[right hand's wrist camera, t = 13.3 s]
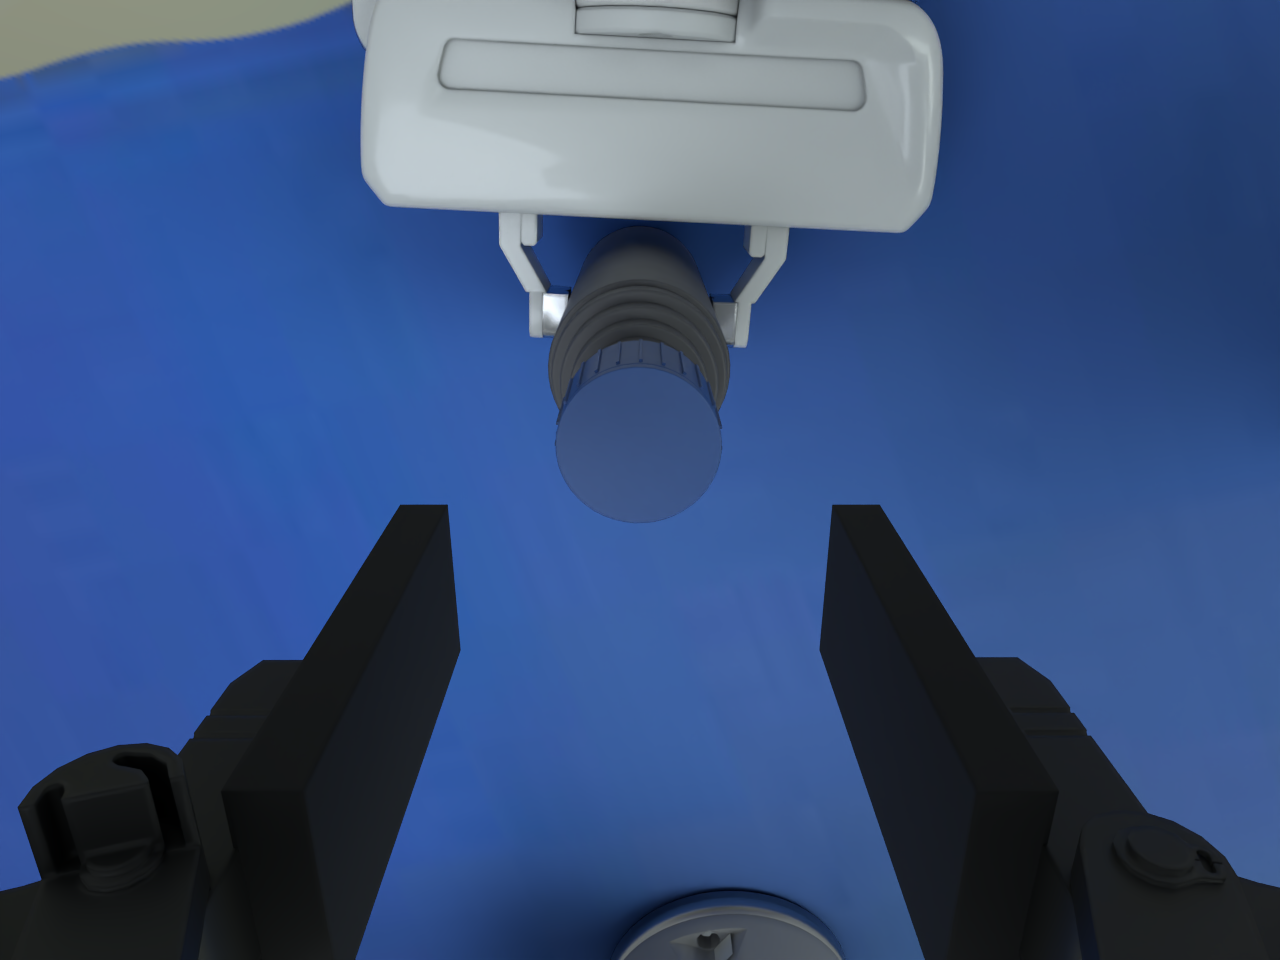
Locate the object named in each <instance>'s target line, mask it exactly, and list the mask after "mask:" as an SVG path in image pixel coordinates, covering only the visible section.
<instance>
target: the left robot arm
mask: <svg viewBox="0 0 1280 960" xmlns="http://www.w3.org/2000/svg"><path fill="white" fill-rule="evenodd" d="M352 11H353V23H354V27H355V31H356V34H357V37H358V39H359V41H360V43H361V45H362V47H363V48H364V50H365V51H366V54H365V64H364V74H363V86H362V101H361V133H360V137H361V169H362V175H363V178H364V180H365V182H366V183H367V184H368V185H369V187H370V188H371V189H372V191H373V192H374V193H375V194H376V196H377V197H378V198H379V199H380V200H381V201H382V203H383V204H385V205H387V206H390V207H404V208H424V209H443V210H462V211H482V212H499V245H500V247H501V249H502V251H503V252H504V254H505V256H506V258H507V259H508V261H509V263H510V265H511V266H512V268H513V270H514V272H515V273H516V275H517V277H518V279H519V280H520V282H521V284H522V286H523V287H524V289H525V291H526V292H529V332H530V337H537V338H554V336H555V333H556V330H557V328H558V325H559V323H560V320H561V318H562V316H563V313H564V311H565V308H566V306H567V303H568V301H569V298H570V296H571V287H567V286H553V285H551V284H550V282H549V280H548V278H547V276H546V274H545V272H544V270H543V268H542V266H541V264H540V263H539V261H538V259H537V257H536V255H535V253H534V251H533V249H532V247H531V246H534V245H535V244H536V243H537V242H538V241H539V240H540V239H541V238H542V237H543V215H559V216H578V217H597V218H616V219H636V220H655V221H674V222H694V223H713V224H732V225H745V228H744V241H743V247H744V248H745V250H746V251H747V252H748V253H749V254H750V255H751V257H754V258H753V259H752V261H751V262H750V264H749V265H748V267H747V268H746V270H745V271H744V273H743V274H742V276H741V277H740V279H739V280H738V282H737V283H736V285H735V286H734V288H733V289H732V291H731V292H730V294H710V297H709V299H710V302H711V304H712V307H713V309H714V312H715V314H716V317H717V320H718V322H719V325H720V327H721V330H722V332H723V335H724V337H725V340H726V343H727V347H740V348H746V346H747V341H748V334H749V323H750V313H751V303H755V302H756V301H757V300H758V298H759V297H760V295H761V294H762V293H763V291H764V290H765V288H766V287H767V285H768V284H769V283H770V281H771V280H772V278H773V277H774V276H775V274H776V273H777V271H778V270H779V269H780V267H781V266H782V264H783V263H784V262H785V260H786V253H787V245H788V236H789V227H790V228H809V229H829V230H848V231H867V232H887V233H902V232H905V231H907V230H908V229H909V228H910V227H911V226H912V225H913V224H914V223H915V222H916V221H917V220H918V219H919V218H920V217H921V215H922V214H923V213H924V212H925V211H926V210H927V208H928V207H929V205H930V203H931V199H932V195H933V190H934V184H935V178H936V171H937V164H938V155H939V146H940V134H941V120H942V102H943V57H942V49H941V44H940V39H939V36H938V33H937V31H936V28H935V26H934V24H933V22H932V21H931V19H930V17H929V16H928V15H927V14H926V13H925V11H924V10H922V9H921V8H920V7H919V6H918V5H916V4H915V3H913V2H911V1H909V0H352Z"/></svg>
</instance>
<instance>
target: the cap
mask: <svg viewBox="0 0 1280 960" xmlns="http://www.w3.org/2000/svg"><path fill="white" fill-rule="evenodd" d="M556 425H558V429H557V433H556V441H555V446H556V456H557V461H558V465H559V468H560V471H561V474H562V476H563V478H564V480H565V482H566V483H567V485H568V486H569V488H570V489H571V491H572V492H573V493H574V494H575V495H576V497H577V498H578V499H579V500H581V501H582V502H583V503H584V504H585V505H586V506H588V507H589V508H591V509H592V510H594V511H595V512H597V513H599V514H601V515H603V516H606V517H608V518H611V519H614V520H618V521H622V522H630V523H648V522H655V521H659V520H663V519H667V518H669V517H672V516H674V515H676V514H678V513H680V512H682V511H684V510H685V509H687V508H688V507H690V506H691V505H692V504H694V503H695V502H696V501H697V500H698V499H699V498H700V497H701V496H702V495H703V494H704V492H705V491H706V490H707V489H708V487H709V486H710V484H711V482H712V481H713V479H714V477H715V474H716V472H717V469H718V466H719V463H720V458H721V450H722V440H721V431H720V429H722V425H721V421H720V417H719V414H718V410H717V406H716V402H715V400H714V398H713V394H712V390H711V386H710V383H709V381H708V382H706V380H705V378H704V377H703V375H702V373H701V372H700V370H699V366H698V365H697V364H696V365H695V364H694V363H693V362H692V361H691V360H690V359H688V358H687V357H686V356H684V355H683V352H682V351H680V352H679V351H677V350H675V349H673V348H671V347H669V346H666V345H664V343H662V342H660V343H656V342H651V341H643V339H639V341H627V342H621V341H619V342H618V344H614V345H611V346H609V347H607V348H604V349H603V350H601V349H599V350H598V352H597V353H596V354H594V355H593V356H592V357H591V358H589V359H588V360H587V361H586V362H584V361H583V362H582V364H581V367H580V369H579V370H578V371H577V373H576V374H575V376H574V378H571V379H570V381H569V384H568V388H567V391H566V395H565V397H563V400H562V404H561V407H560V411H559V415H558V418H557V422H556Z"/></svg>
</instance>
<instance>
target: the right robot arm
mask: <svg viewBox="0 0 1280 960" xmlns="http://www.w3.org/2000/svg"><path fill="white" fill-rule="evenodd" d="M459 653H460V639H459V628H458V617H457V605H456V594H455V583H454V572H453V560H452V549H451V538H450V527H449V515H448V505H400V506H399V508H398V509H397V511H396V513H395V514H394V516H393V517H392V519H391V521H390V522H389V524H388V525H387V527H386V528H385V530H384V532H383V533H382V535H381V536H380V538H379V540H378V541H377V543H376V544H375V546H374V548H373V549H372V551H371V552H370V554H369V556H368V557H367V559H366V560H365V562H364V564H363V565H362V567H361V568H360V570H359V572H358V573H357V575H356V576H355V578H354V579H353V581H352V583H351V584H350V586H349V587H348V589H347V591H346V592H345V594H344V595H343V597H342V599H341V600H340V602H339V603H338V605H337V607H336V608H335V610H334V611H333V613H332V615H331V616H330V618H329V619H328V621H327V623H326V624H325V626H324V627H323V629H322V630H321V632H320V634H319V635H318V637H317V638H316V640H315V642H314V643H313V645H312V646H311V648H310V650H309V651H308V653H307V654H306V656H305V658H304V659H303V660H263V661H261V662H260V663H258V664H257V665H256V666H254V667H253V668H251V669H250V670H248V671H247V672H246V673H244V674H243V675H241V676H240V677H239V678H237V679H236V680H234V681H233V682H232V683H230V684H229V686H228V687H227V689H226V690H225V691H224V693H223V694H222V695H221V697H220V698H219V699H218V701H217V702H216V704H215V705H214V706H213V708H212V709H211V713H210V716H206V717H205V719H204V720H203V721H202V723H201V724H200V725H199V727H198V728H197V730H196V731H195V732H194V738H193V739H189V741H188V742H187V743H186V745H185V746H184V747H183V749H182V750H181V751H180V753H179V754H178V755H177V754H175V753H174V752H173V751H172V750H171V749H169V748H167V747H162V746H158V745H153V744H148V743H141V744H128V745H117V746H114V747H110V748H106V749H103V750H99V751H96V752H92V753H89V754H86V755H84V756H82V757H80V758H78V759H76V760H74V761H72V762H69V763H67V764H65V765H63V766H61V767H59V768H57V769H56V770H55V771H53V772H52V773H51V774H49V775H48V776H47V777H45V778H44V779H43V780H41V781H40V782H39V783H37V784H36V785H35V786H33V787H32V789H31V790H30V791H29V793H28V794H27V795H26V797H25V798H24V799H23V801H22V802H21V804H20V805H19V806H18V810H19V813H20V816H21V819H22V822H23V825H24V828H25V831H26V834H27V837H28V840H29V843H30V846H31V849H32V852H33V855H34V858H35V861H36V864H37V867H38V870H39V873H40V876H41V881H38V882H35V883H31V884H28V885H25V886H21V887H17V888H13V889H8V890H4V891H0V960H355V958H356V955H357V952H358V949H359V946H360V944H361V941H362V938H363V935H364V932H365V929H366V926H367V923H368V920H369V917H370V914H371V911H372V908H373V905H374V902H375V899H376V897H377V894H378V891H379V888H380V885H381V882H382V879H383V876H384V873H385V870H386V867H387V864H388V861H389V858H390V855H391V853H392V850H393V847H394V844H395V841H396V838H397V835H398V832H399V829H400V826H401V823H402V820H403V817H404V814H405V811H406V808H407V806H408V803H409V800H410V797H411V794H412V791H413V788H414V785H415V782H416V779H417V776H418V773H419V770H420V767H421V764H422V761H423V759H424V756H425V753H426V750H427V747H428V744H429V741H430V738H431V735H432V732H433V729H434V726H435V723H436V720H437V717H438V715H439V712H440V709H441V706H442V703H443V700H444V697H445V694H446V691H447V688H448V685H449V682H450V679H451V676H452V673H453V670H454V668H455V665H456V662H457V659H458V656H459ZM820 653H821V656H822V659H823V662H824V665H825V668H826V670H827V673H828V676H829V679H830V682H831V685H832V688H833V691H834V694H835V697H836V700H837V703H838V706H839V709H840V712H841V715H842V717H843V720H844V723H845V726H846V729H847V732H848V735H849V738H850V741H851V744H852V747H853V750H854V753H855V756H856V759H857V762H858V764H859V767H860V770H861V773H862V776H863V779H864V782H865V785H866V788H867V791H868V794H869V797H870V800H871V803H872V806H873V808H874V811H875V814H876V817H877V820H878V823H879V826H880V829H881V832H882V835H883V838H884V841H885V844H886V847H887V850H888V853H889V855H890V858H891V861H892V864H893V867H894V870H895V873H896V876H897V879H898V882H899V885H900V888H901V891H902V894H903V897H904V899H905V902H906V905H907V908H908V911H909V914H910V917H911V920H912V923H913V926H914V929H915V932H916V935H917V938H918V941H919V944H920V946H921V949H922V952H923V955H924V958H925V960H1280V888H1279V887H1275V886H1270V885H1266V884H1262V883H1258V882H1254V881H1251V880H1248V879H1245V878H1241V877H1238V876H1237V875H1236V873H1235V872H1234V870H1233V868H1232V867H1231V865H1230V864H1229V862H1228V861H1227V859H1226V858H1225V856H1224V855H1222V854H1221V853H1220V852H1219V851H1218V850H1217V849H1216V848H1214V847H1213V846H1212V845H1211V844H1210V843H1209V842H1207V841H1206V840H1205V839H1204V838H1203V837H1201V836H1200V835H1198V834H1196V833H1194V832H1192V831H1190V830H1189V829H1187V828H1185V827H1183V826H1181V825H1179V824H1178V823H1176V822H1174V821H1171V820H1168V819H1165V818H1161V817H1158V816H1155V815H1152V814H1149V813H1147V811H1146V810H1145V809H1144V807H1143V806H1142V805H1141V803H1140V802H1139V800H1138V799H1137V798H1136V796H1135V795H1134V794H1133V792H1132V791H1131V790H1130V788H1129V787H1128V786H1127V784H1126V783H1125V781H1124V780H1123V779H1122V777H1121V776H1120V775H1119V773H1118V772H1117V771H1116V769H1115V768H1114V767H1113V765H1112V764H1111V762H1110V761H1109V760H1108V758H1107V757H1106V756H1105V754H1104V753H1103V752H1102V750H1101V749H1100V747H1099V746H1098V745H1097V743H1096V742H1095V741H1094V739H1093V738H1092V737H1091V736H1087V732H1086V731H1087V730H1086V728H1085V727H1084V726H1083V724H1082V723H1081V722H1080V720H1079V719H1078V718H1077V716H1076V715H1075V713H1071V712H1070V707H1069V705H1068V704H1067V703H1066V701H1065V700H1064V699H1063V697H1062V696H1061V694H1060V693H1059V692H1058V690H1057V689H1056V688H1055V686H1054V685H1053V684H1052V682H1051V681H1050V680H1049V679H1047V678H1046V677H1044V676H1043V675H1042V674H1040V673H1039V672H1037V671H1036V670H1035V669H1033V668H1032V667H1030V666H1029V665H1027V664H1026V663H1025V662H1023V661H1022V660H1020V659H1019V658H1018V657H975V656H974V654H973V653H972V651H971V650H970V648H969V646H968V645H967V643H966V642H965V640H964V638H963V637H962V635H961V634H960V632H959V630H958V629H957V627H956V626H955V624H954V623H953V621H952V619H951V618H950V616H949V615H948V613H947V611H946V610H945V608H944V607H943V605H942V603H941V602H940V600H939V599H938V597H937V595H936V594H935V592H934V591H933V589H932V587H931V586H930V584H929V583H928V581H927V579H926V578H925V576H924V575H923V573H922V572H921V570H920V568H919V567H918V565H917V564H916V562H915V560H914V559H913V557H912V556H911V554H910V552H909V551H908V549H907V548H906V546H905V544H904V543H903V541H902V540H901V538H900V536H899V535H898V533H897V532H896V530H895V528H894V527H893V525H892V524H891V522H890V521H889V519H888V517H887V516H886V514H885V513H884V511H883V509H882V508H881V506H880V505H832V515H831V526H830V538H829V549H828V560H827V572H826V583H825V594H824V605H823V617H822V628H821V639H820ZM610 960H845V956H844V953H843V951H842V948H841V946H840V944H839V942H838V941H837V939H836V937H835V936H834V935H833V933H832V932H831V931H830V929H829V928H828V927H827V926H826V925H825V924H824V923H823V922H822V921H820V920H819V919H818V918H817V917H816V916H814V915H813V914H811V913H810V912H808V911H807V910H805V909H803V908H801V907H799V906H797V905H795V904H793V903H791V902H788V901H786V900H783V899H780V898H777V897H774V896H769V895H765V894H760V893H754V892H744V891H718V892H709V893H702V894H697V895H693V896H689V897H685V898H682V899H679V900H676V901H673V902H671V903H668V904H666V905H664V906H662V907H660V908H658V909H656V910H654V911H653V912H651V913H649V914H648V915H646V916H645V917H643V918H642V919H641V920H639V921H638V922H637V923H636V924H635V925H634V926H632V927H631V928H630V929H629V930H628V932H627V933H626V934H625V935H624V936H623V937H622V939H621V940H620V941H619V943H618V945H617V946H616V948H615V950H614V952H613V954H612V957H611V959H610Z"/></svg>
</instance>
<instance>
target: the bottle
mask: <svg viewBox="0 0 1280 960" xmlns="http://www.w3.org/2000/svg"><path fill="white" fill-rule="evenodd" d="M639 339H643V341H651V342H656V343H660V342H662V343H664V345H666V346H669V347H671V348H673V349H675V350H677V351H679V352H680V351H682V352H683V355H684V356H686V357H687V358H688V359H690V360H691V361H692V362H693V363H694V364H695V365H696V364H697V365H698V366H699V370H700V372H701V373H702V375H703V377H704V378H705V380H706V382H708V381H709V383H710V386H711V390H712V394H713V398H714V400H715V402H716V406H717V410H718V411H719V409H720V407H721V405H722V403H723V401H724V398H725V395H726V392H727V389H728V383H729V378H730V359H729V351H728V347H727V343H726V340H725V337H724V335H723V332H722V330H721V327H720V325H719V322H718V320H717V317H716V314H715V312H714V309H713V307H712V304H711V302H710V299H709V296H708V294H707V291H706V289H705V286H704V284H703V281H702V279H701V276H700V273H699V271H698V268H697V266H696V263H695V261H694V259H693V257H692V255H691V254H690V252H689V251H688V250H687V248H686V247H685V246H684V245H683V244H682V243H681V242H680V241H679V240H677V239H676V238H675V237H674V236H672V235H670V234H668V233H667V232H664V231H662V230H660V229H656V228H652V227H646V226H634V227H627V228H623V229H620V230H617V231H615V232H613V233H611V234H609V235H608V236H606V237H604V238H603V239H602V240H601V241H599V242H598V243H597V244H596V245H595V246H594V248H593V249H592V250H591V251H590V253H589V254H588V256H587V258H586V260H585V262H584V264H583V266H582V269H581V271H580V274H579V276H578V279H577V281H576V284H575V286H574V288H573V291H572V293H571V296H570V298H569V301H568V303H567V306H566V308H565V311H564V313H563V316H562V318H561V320H560V323H559V325H558V328H557V330H556V333H555V336H554V338H553V341H552V344H551V349H550V353H549V362H548V372H549V382H550V387H551V391H552V394H553V397H554V400H555V402H556V404H557V406H558V409H559V411H560V407H561V404H562V400H563V397H565V395H566V391H567V388H568V384H569V381H570V379H571V378H574V376H575V374H576V373H577V371H578V370H579V369H580V367H581V364H582V362H583V361H584V362H586V361H587V360H588V359H589V358H591V357H592V356H593V355H594V354H596V353H597V352H598V350H599V349H601V350H603V349H604V348H607V347H609V346H611V345H614V344H618V342H619V341H621V342H627V341H639Z"/></svg>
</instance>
